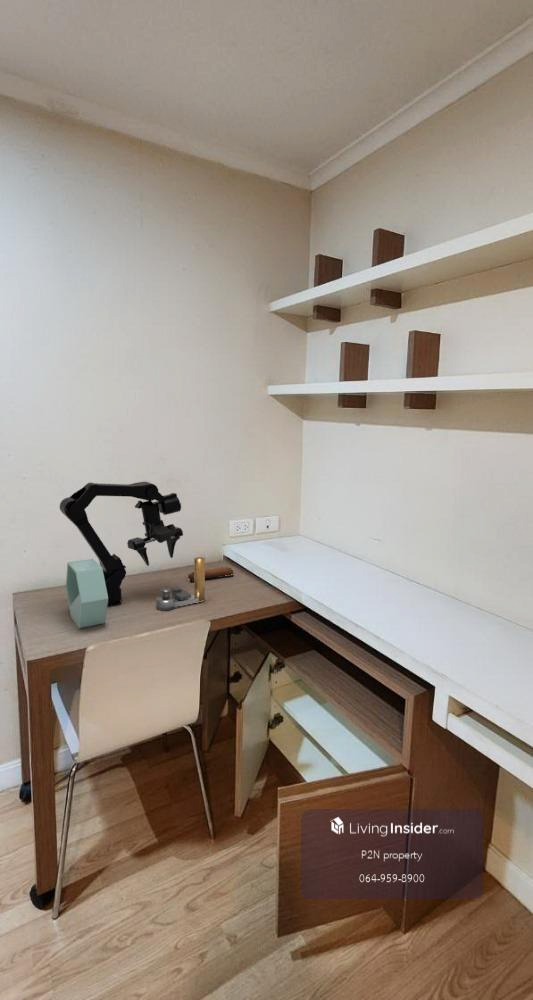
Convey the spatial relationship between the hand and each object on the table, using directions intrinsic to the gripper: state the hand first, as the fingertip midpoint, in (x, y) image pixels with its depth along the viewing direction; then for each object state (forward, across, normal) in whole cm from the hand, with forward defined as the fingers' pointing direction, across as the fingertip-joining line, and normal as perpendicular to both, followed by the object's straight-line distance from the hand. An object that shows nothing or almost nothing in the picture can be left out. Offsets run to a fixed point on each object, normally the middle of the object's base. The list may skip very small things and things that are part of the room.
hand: (160, 561), depth 178 cm
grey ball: (+9, -5, -11) cm, 15 cm away
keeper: (+13, 0, -10) cm, 17 cm away
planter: (+9, -30, -5) cm, 31 cm away
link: (+13, 0, -11) cm, 17 cm away
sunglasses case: (+15, +23, +8) cm, 29 cm away
